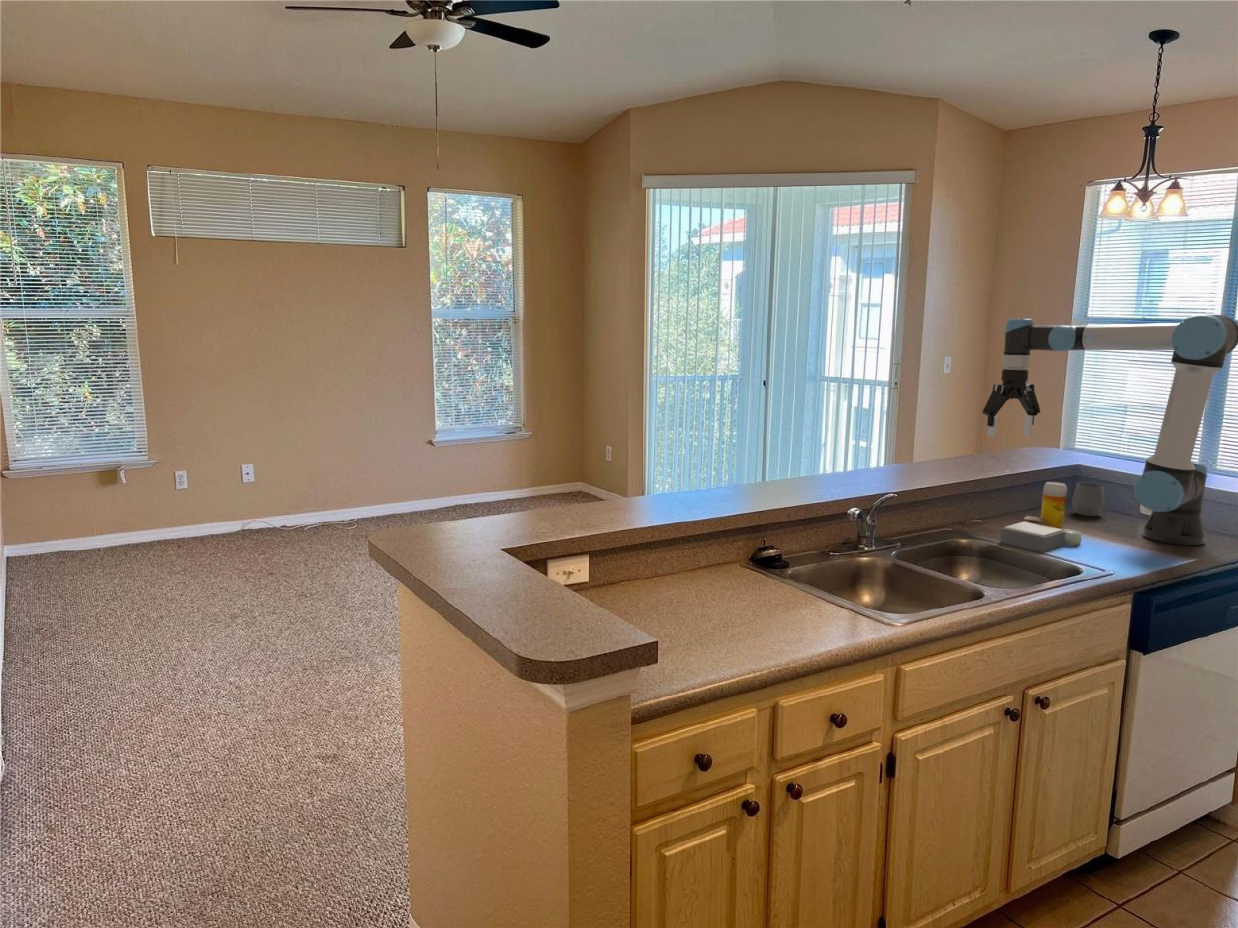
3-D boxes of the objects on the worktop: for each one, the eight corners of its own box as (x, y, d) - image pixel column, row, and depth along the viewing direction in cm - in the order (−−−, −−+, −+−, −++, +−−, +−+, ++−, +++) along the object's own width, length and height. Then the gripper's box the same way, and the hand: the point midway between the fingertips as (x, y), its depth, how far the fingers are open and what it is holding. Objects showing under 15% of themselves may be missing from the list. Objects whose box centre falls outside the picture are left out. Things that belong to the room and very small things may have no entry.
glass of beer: (1061, 536, 246) (1067, 486, 243) (1038, 533, 248) (1043, 484, 246) (1062, 532, 251) (1067, 483, 248) (1039, 529, 254) (1044, 480, 251)
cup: (1109, 516, 273) (1113, 486, 271) (1092, 519, 268) (1096, 488, 266) (1081, 510, 281) (1084, 480, 279) (1064, 512, 276) (1067, 483, 274)
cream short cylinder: (1084, 544, 238) (1085, 532, 238) (1074, 547, 235) (1075, 535, 234) (1062, 539, 243) (1064, 527, 242) (1052, 542, 239) (1053, 530, 239)
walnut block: (1043, 534, 248) (1045, 518, 247) (1040, 538, 244) (1041, 521, 243) (1025, 532, 251) (1027, 515, 250) (1021, 535, 247) (1023, 518, 246)
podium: (1063, 545, 236) (1065, 529, 235) (1042, 552, 229) (1044, 535, 228) (1021, 536, 245) (1023, 520, 245) (1000, 542, 238) (1001, 526, 237)
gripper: (1038, 367, 269) (1032, 433, 273) (973, 368, 262) (968, 435, 265) (1056, 369, 262) (1050, 436, 266) (991, 369, 255) (985, 439, 258)
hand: (1009, 436), depth 265 cm, fingers open, 13 cm apart
